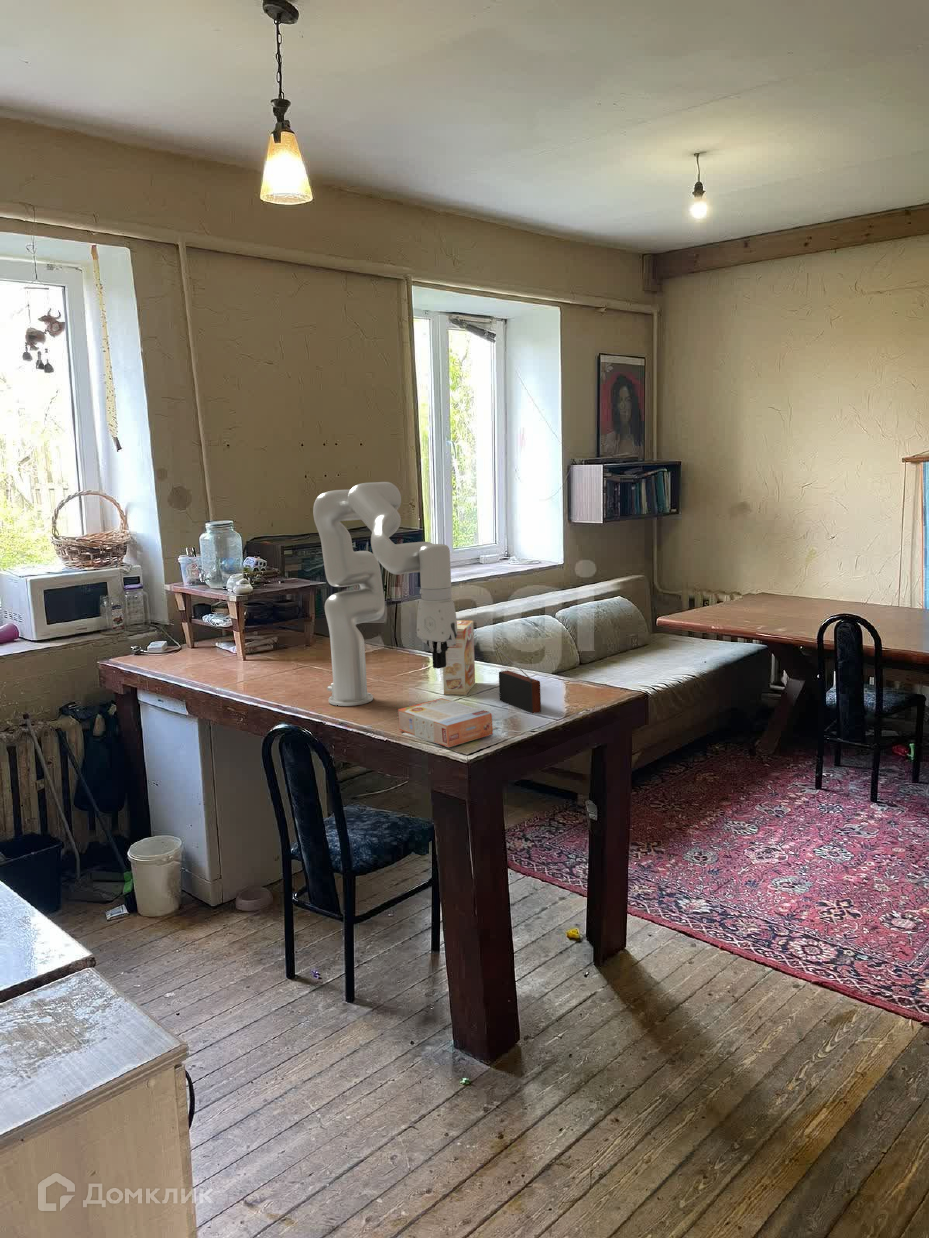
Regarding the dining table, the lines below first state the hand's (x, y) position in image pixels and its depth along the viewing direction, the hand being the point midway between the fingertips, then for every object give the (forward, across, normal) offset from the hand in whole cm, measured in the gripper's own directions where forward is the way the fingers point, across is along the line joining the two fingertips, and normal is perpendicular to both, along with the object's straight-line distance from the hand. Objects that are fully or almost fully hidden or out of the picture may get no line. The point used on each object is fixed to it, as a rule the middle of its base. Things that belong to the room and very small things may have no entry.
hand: (439, 667), depth 228 cm
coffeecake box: (+16, -24, +34) cm, 45 cm away
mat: (+16, +2, 0) cm, 16 cm away
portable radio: (+16, +2, +29) cm, 33 cm away
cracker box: (+13, -7, 0) cm, 15 cm away
